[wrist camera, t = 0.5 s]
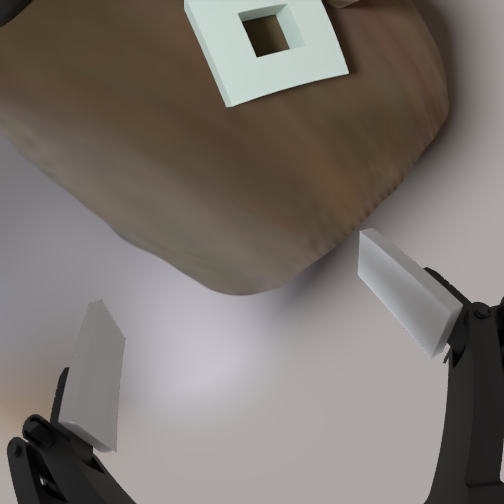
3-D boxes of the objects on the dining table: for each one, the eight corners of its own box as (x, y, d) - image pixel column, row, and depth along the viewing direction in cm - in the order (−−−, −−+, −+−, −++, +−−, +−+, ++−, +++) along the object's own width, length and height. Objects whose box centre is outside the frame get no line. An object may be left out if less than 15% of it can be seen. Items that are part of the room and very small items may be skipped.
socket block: (184, 9, 24) (184, -5, 20) (293, -15, 24) (307, -27, 20) (226, 107, 32) (232, 106, 28) (330, 75, 33) (349, 73, 28)
